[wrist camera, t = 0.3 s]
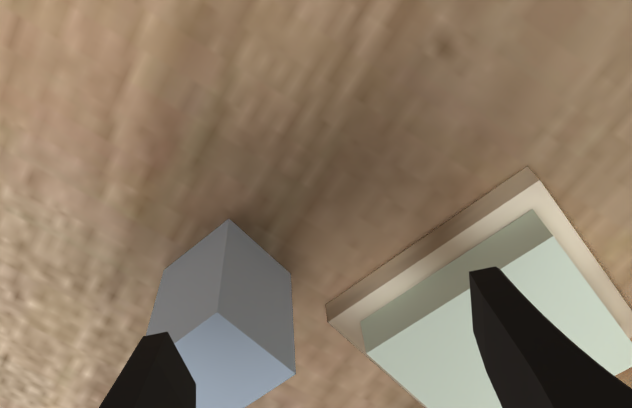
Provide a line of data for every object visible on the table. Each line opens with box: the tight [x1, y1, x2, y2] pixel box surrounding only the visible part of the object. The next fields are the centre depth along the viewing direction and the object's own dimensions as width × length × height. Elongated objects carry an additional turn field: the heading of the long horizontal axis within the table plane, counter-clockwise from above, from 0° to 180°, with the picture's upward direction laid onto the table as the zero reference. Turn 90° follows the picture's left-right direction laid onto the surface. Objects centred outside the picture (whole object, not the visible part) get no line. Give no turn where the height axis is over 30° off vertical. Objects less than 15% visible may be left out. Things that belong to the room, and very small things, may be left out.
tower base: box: [325, 166, 632, 408], centre depth 27 cm, size 11×11×2 cm
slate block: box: [146, 219, 296, 408], centre depth 23 cm, size 4×4×6 cm
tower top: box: [360, 209, 632, 408], centre depth 25 cm, size 9×9×2 cm
